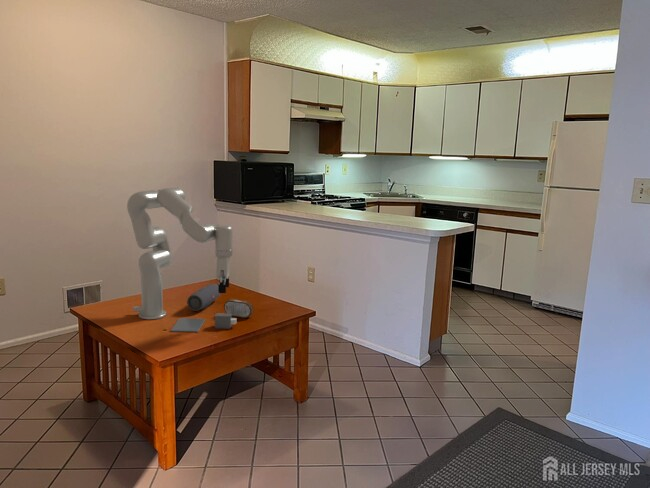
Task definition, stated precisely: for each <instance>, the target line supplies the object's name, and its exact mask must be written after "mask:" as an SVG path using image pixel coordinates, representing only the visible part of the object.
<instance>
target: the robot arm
mask: <svg viewBox="0 0 650 488" xmlns="http://www.w3.org/2000/svg"><path fill="white" fill-rule="evenodd" d="M160 208H164V209H165V210H166V211H167V212H168V213H170V214H171V215H172V216H173V217H175V218H176V219H177V220H178V221H179V224H180V227H181V228H182V230H183V231H184V233H185V234H187V236H189V237H190V238H192V239H193V240H194V241H195V242H197V243H207V242H211V241H214V244H215V250H214V251H215V253H214V255H215V258H216V270H215V271H216V274H215V276H216V277H215V278H216V280H218V284H217V285H218V292H219V293H221V294H226V293H227V288H230V274H231V258H232V257H233V228H232V226H231V225H223V224H217V223H207V224H200V223H199V222H198V221H196V220H195V218H193V216H192V213H193V210H194V207H193V206H192V205H191V204H190V203H189V202H187V201H186V193H185V192H184V191H183V190H182V189H181V188H179V187H166V188H162V189H155V190H152V189H151V190H142V191H137V192H134V193H133V194H132V195H130V197H129V198H128V200H127V203H126V209H127V213H128V216H129V218H130V220H131V224H132V225H131V226H132V229H133V233H134V236H135V241H136V245H137V246H138V248H140V250H141V249H142V250H149V249H151V250H149V251H146V252H143V253H142V254H140V256H139V258H138V261H137V262H138V268H139V273H140V285H141V286H140V287H141V288H140V289H141V295H140V296H141V305H140V306H136V305H135V306H134V305H133V307H132V310H133V312H138V318H139V319H142V320H158V319H162V318H164V317H166V315H167V311H166V310H164V309H163V308H164V305H163V304H164V302H163V301H164V300H163V277H162V274H161V272H160V270H161V269H164V268H167V267H168V266H170V265H171V263H172V261H173V254H172V249H171V245H170V241H169V237H168V234H167V232H166V231H165V230H164V229H163V228H162V227H160V226H153V222H152V220H151V217H150V215H149V214H148V212H147V210H152V209H160Z"/></svg>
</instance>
